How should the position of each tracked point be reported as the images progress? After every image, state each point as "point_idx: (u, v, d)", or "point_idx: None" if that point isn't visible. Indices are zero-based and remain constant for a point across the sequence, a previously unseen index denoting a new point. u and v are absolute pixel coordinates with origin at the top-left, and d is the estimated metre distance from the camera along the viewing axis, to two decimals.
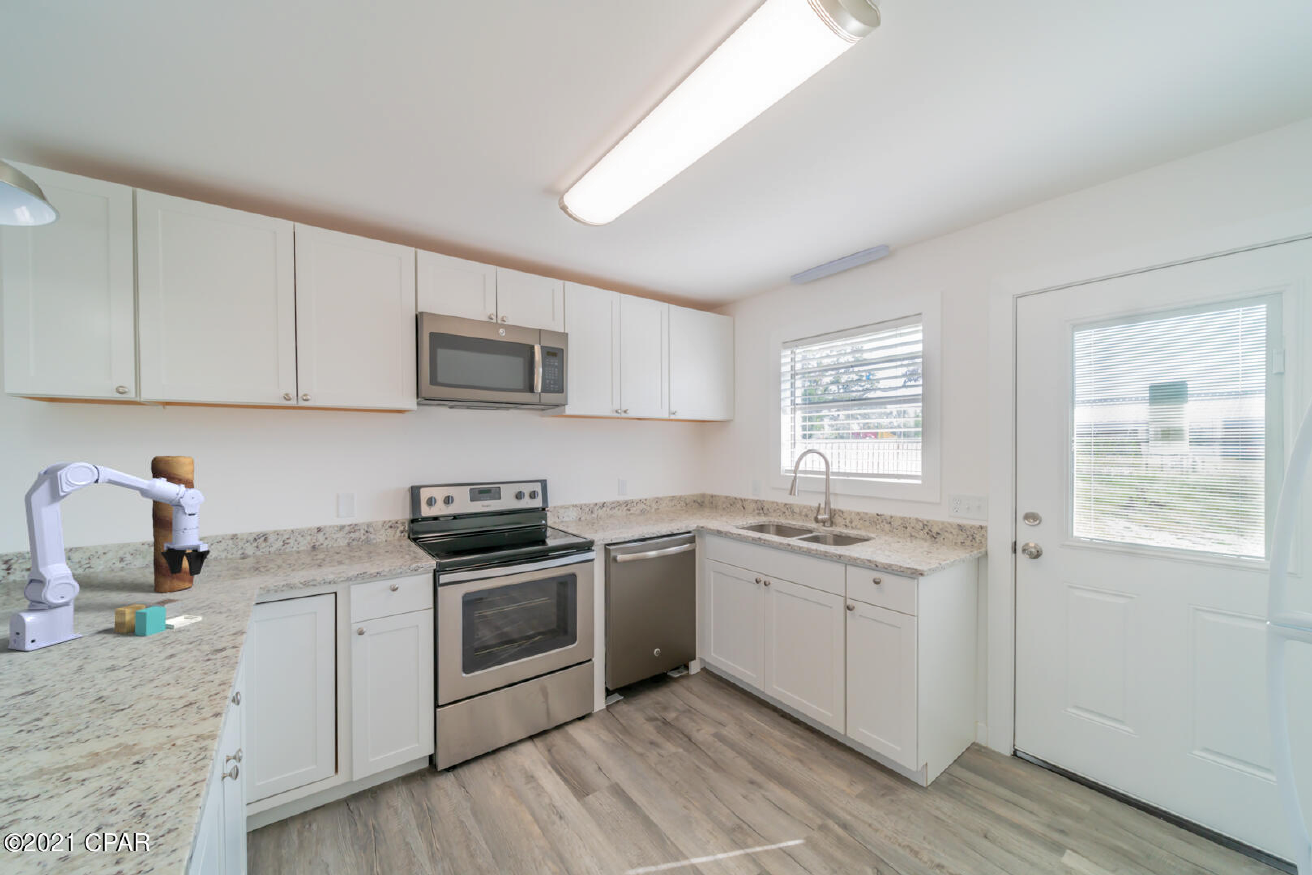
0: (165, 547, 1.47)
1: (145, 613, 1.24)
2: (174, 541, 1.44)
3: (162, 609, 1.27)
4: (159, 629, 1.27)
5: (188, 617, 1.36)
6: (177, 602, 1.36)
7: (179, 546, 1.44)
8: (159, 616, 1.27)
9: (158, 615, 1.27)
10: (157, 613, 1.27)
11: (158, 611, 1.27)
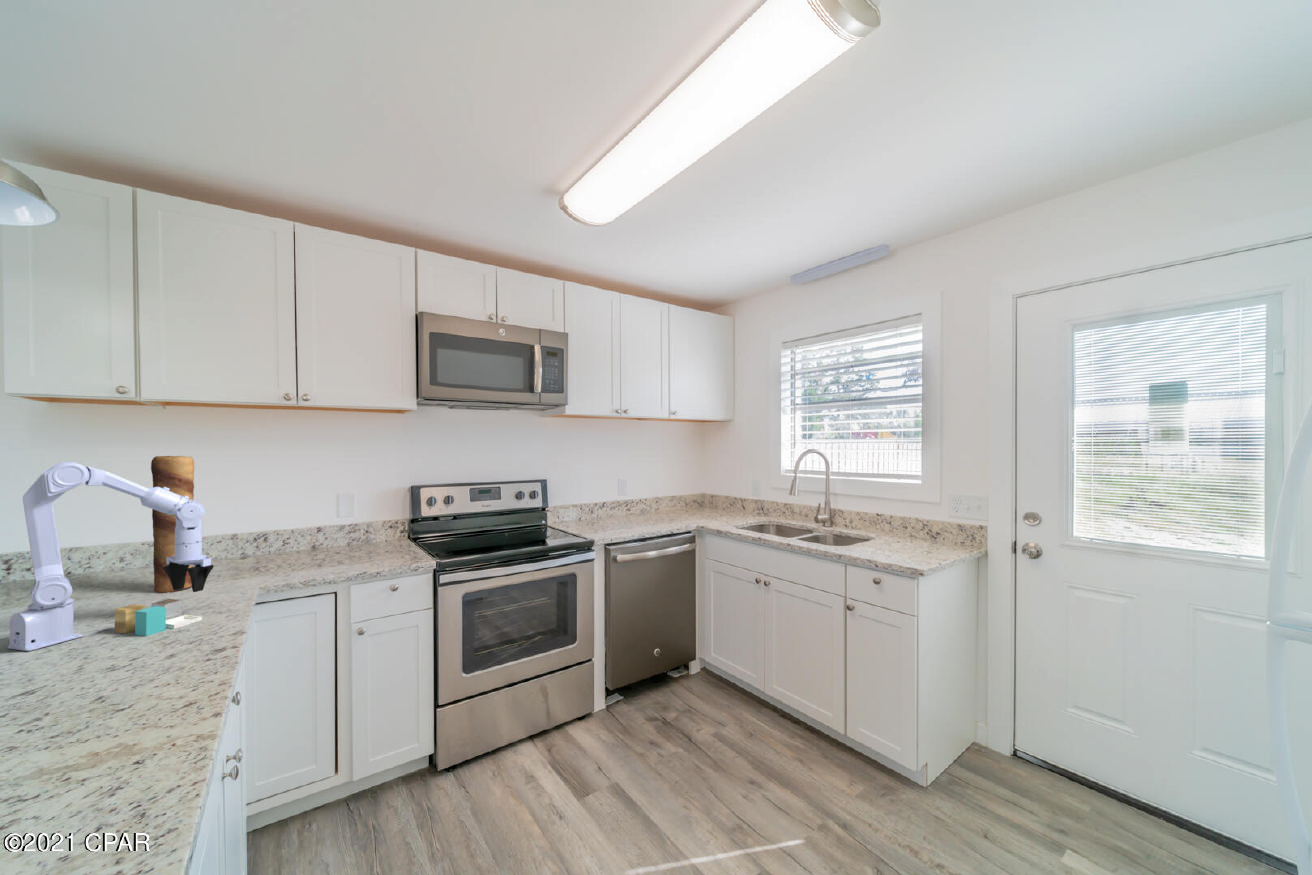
0: (167, 562, 1.42)
1: (145, 613, 1.24)
2: (176, 556, 1.38)
3: (162, 609, 1.27)
4: (159, 629, 1.27)
5: (188, 617, 1.36)
6: (177, 602, 1.36)
7: (181, 561, 1.38)
8: (159, 616, 1.27)
9: (158, 615, 1.27)
10: (157, 613, 1.27)
11: (158, 611, 1.27)
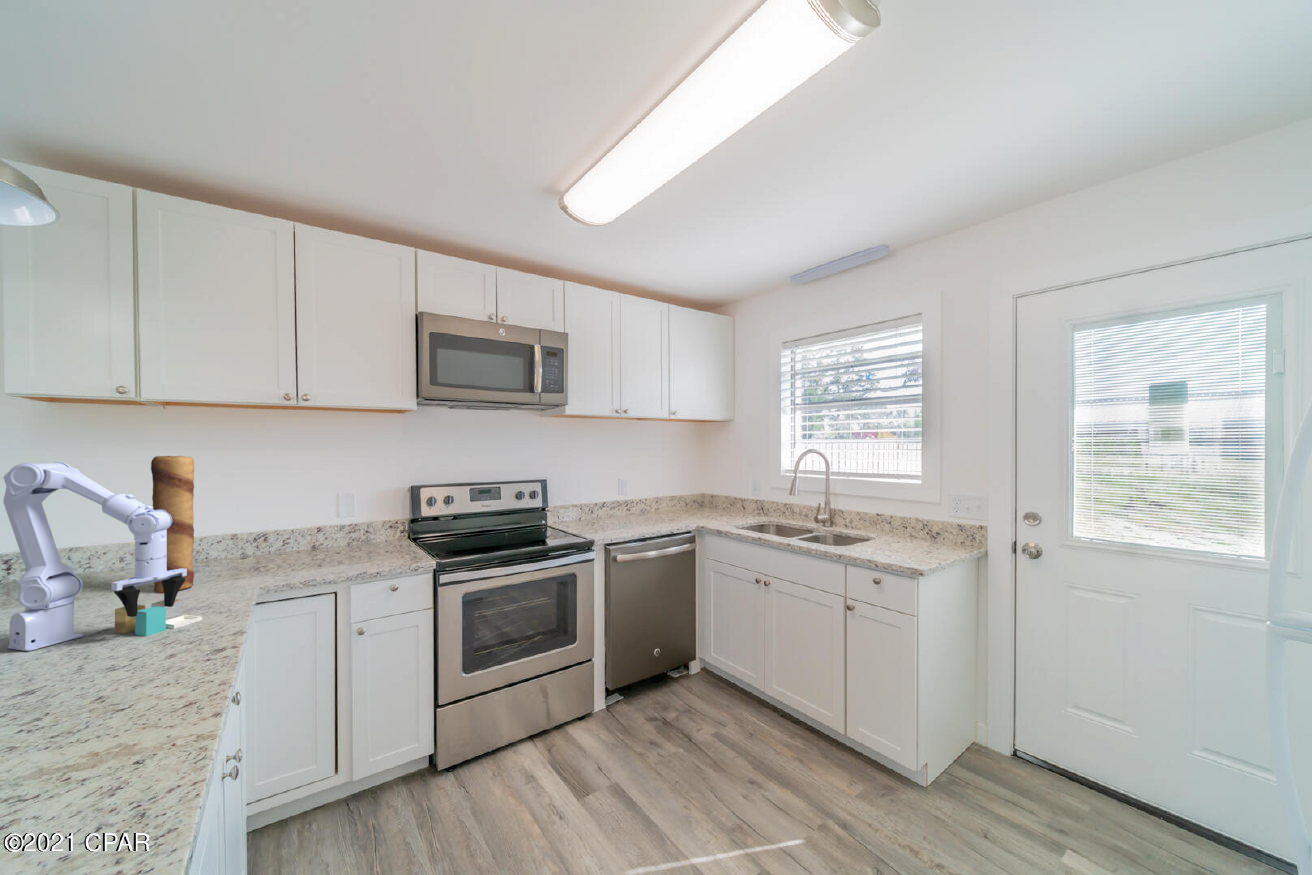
0: None
1: (145, 613, 1.24)
2: None
3: (162, 609, 1.27)
4: (159, 629, 1.27)
5: (188, 617, 1.36)
6: (177, 602, 1.36)
7: None
8: (159, 616, 1.27)
9: (158, 615, 1.27)
10: (157, 613, 1.27)
11: (158, 611, 1.27)
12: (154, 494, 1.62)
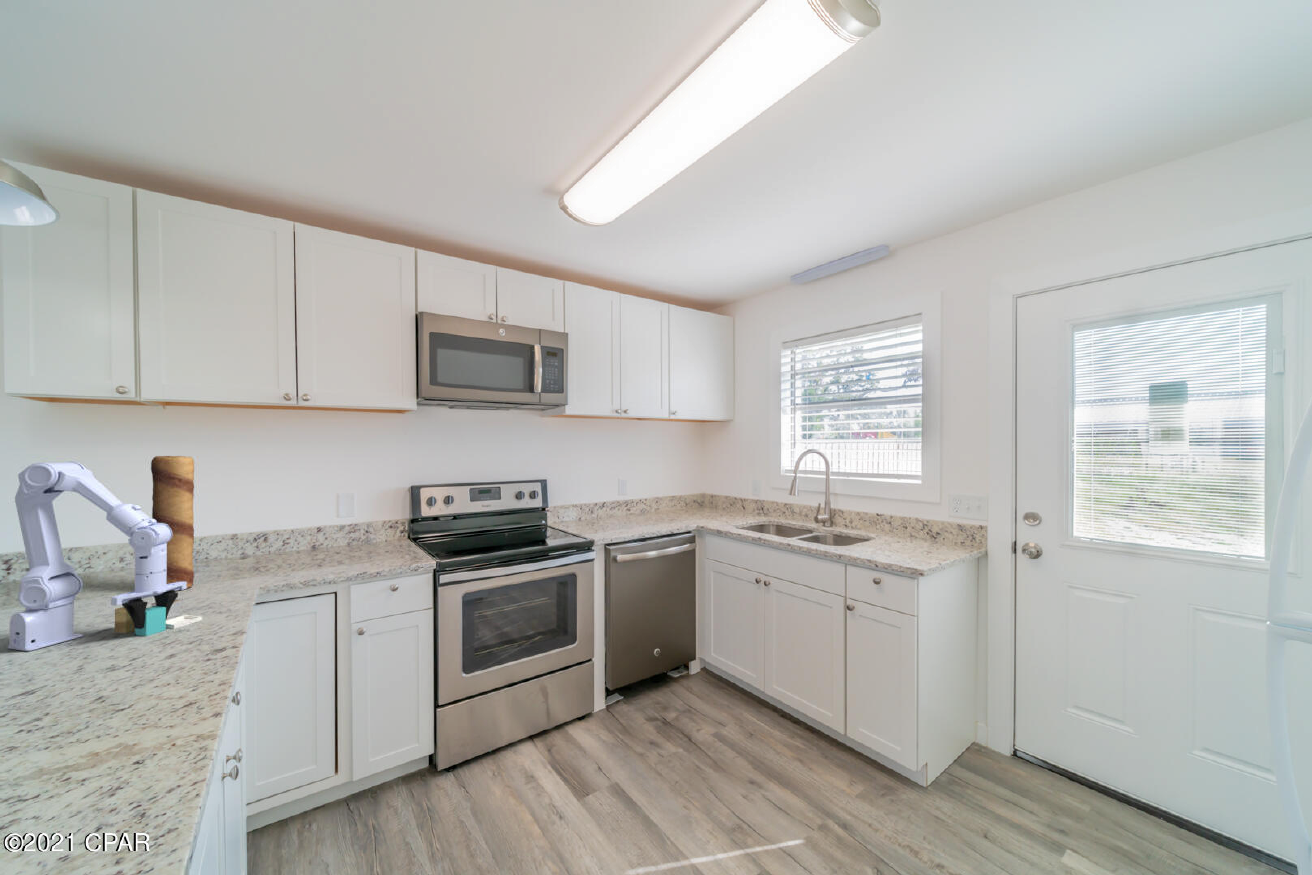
0: None
1: (145, 613, 1.24)
2: None
3: (162, 609, 1.27)
4: (159, 629, 1.27)
5: (188, 617, 1.36)
6: (177, 602, 1.36)
7: None
8: (159, 615, 1.27)
9: (158, 615, 1.27)
10: (157, 613, 1.27)
11: (158, 611, 1.27)
12: (154, 494, 1.62)
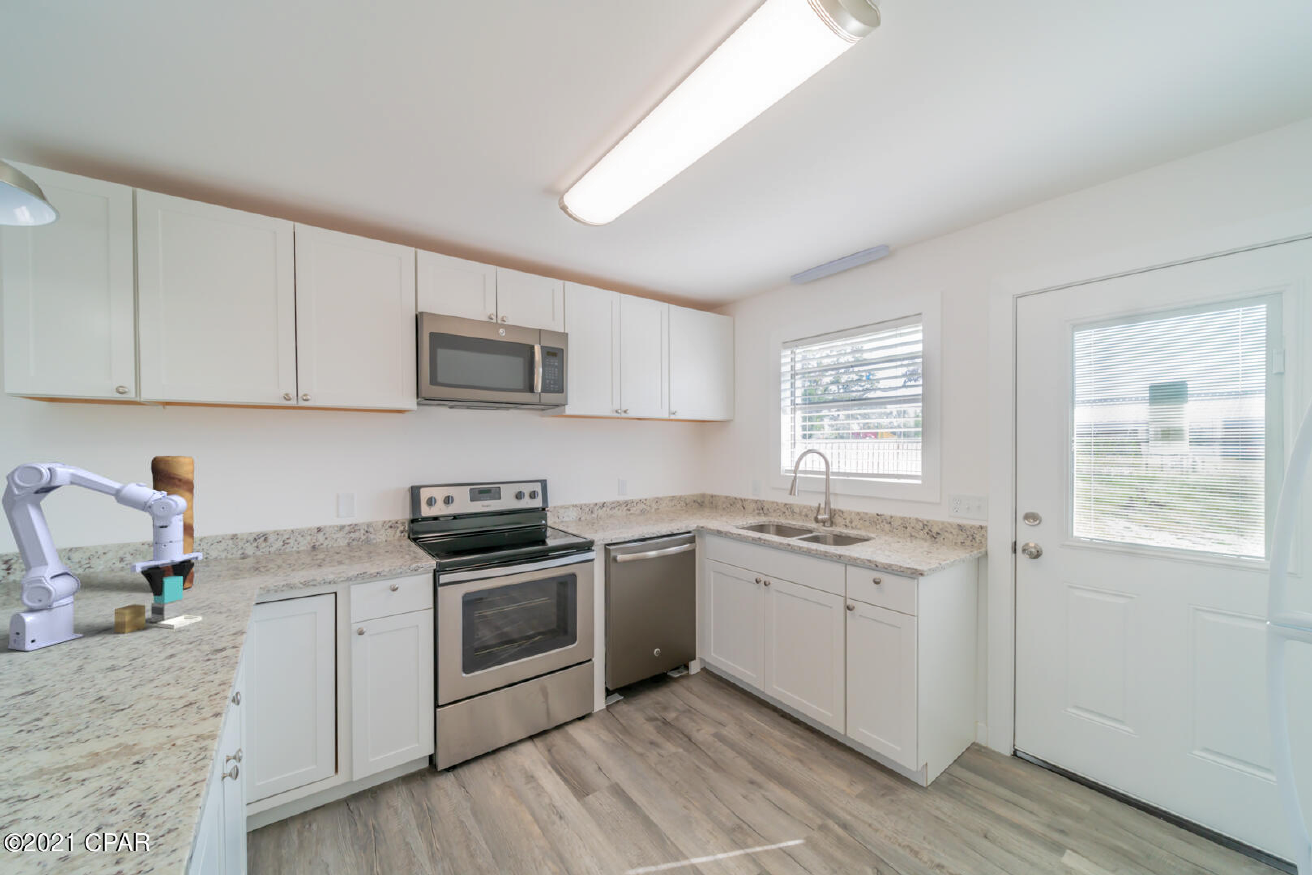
0: None
1: (163, 581, 1.28)
2: None
3: (179, 578, 1.31)
4: (176, 597, 1.31)
5: (188, 617, 1.36)
6: (177, 602, 1.36)
7: None
8: (176, 584, 1.31)
9: (176, 584, 1.30)
10: (175, 582, 1.30)
11: (175, 579, 1.30)
12: None
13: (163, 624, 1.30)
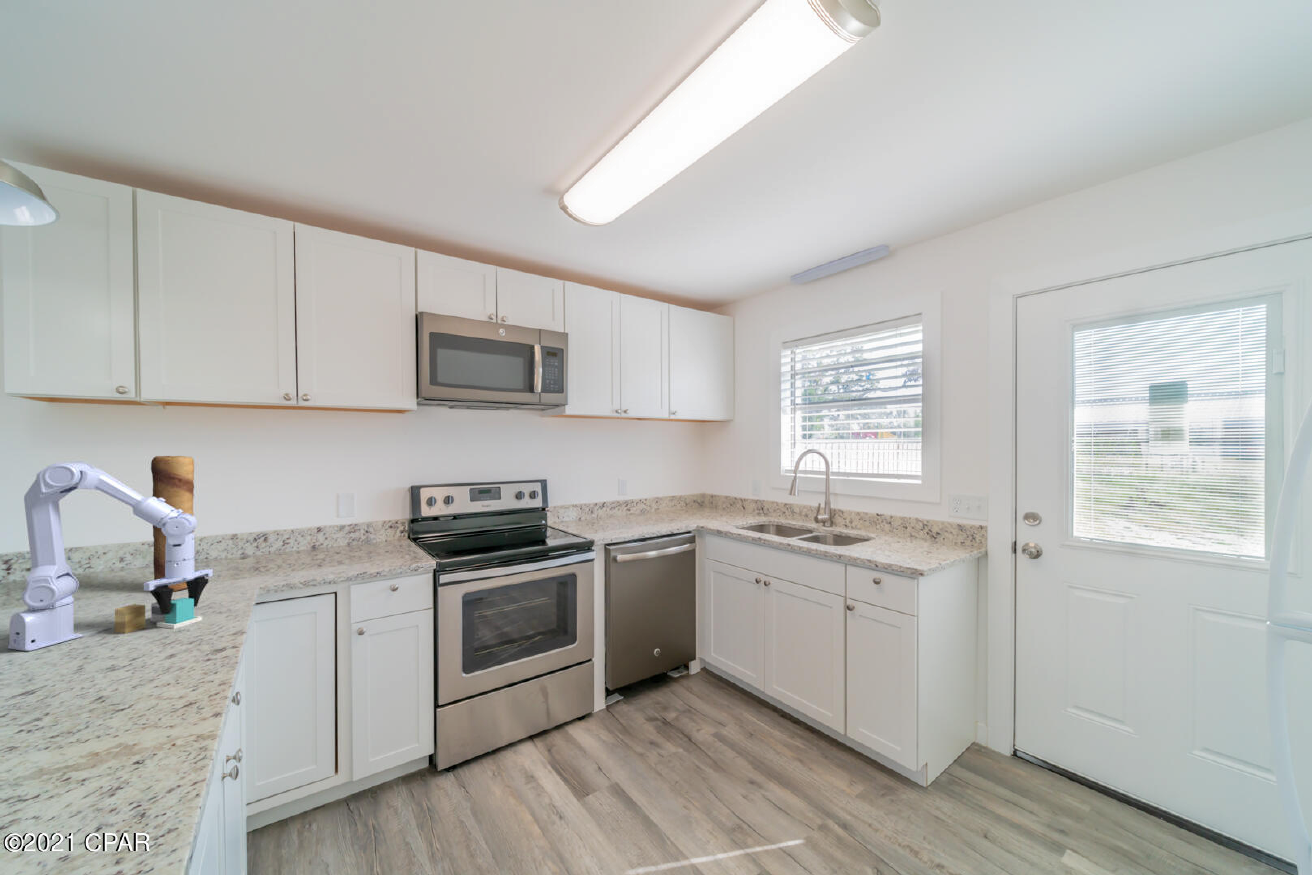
0: None
1: (175, 604, 1.31)
2: None
3: (191, 600, 1.34)
4: (188, 619, 1.33)
5: None
6: None
7: None
8: (188, 606, 1.33)
9: (187, 606, 1.33)
10: (186, 604, 1.33)
11: (187, 602, 1.33)
12: (154, 494, 1.62)
13: (163, 624, 1.30)
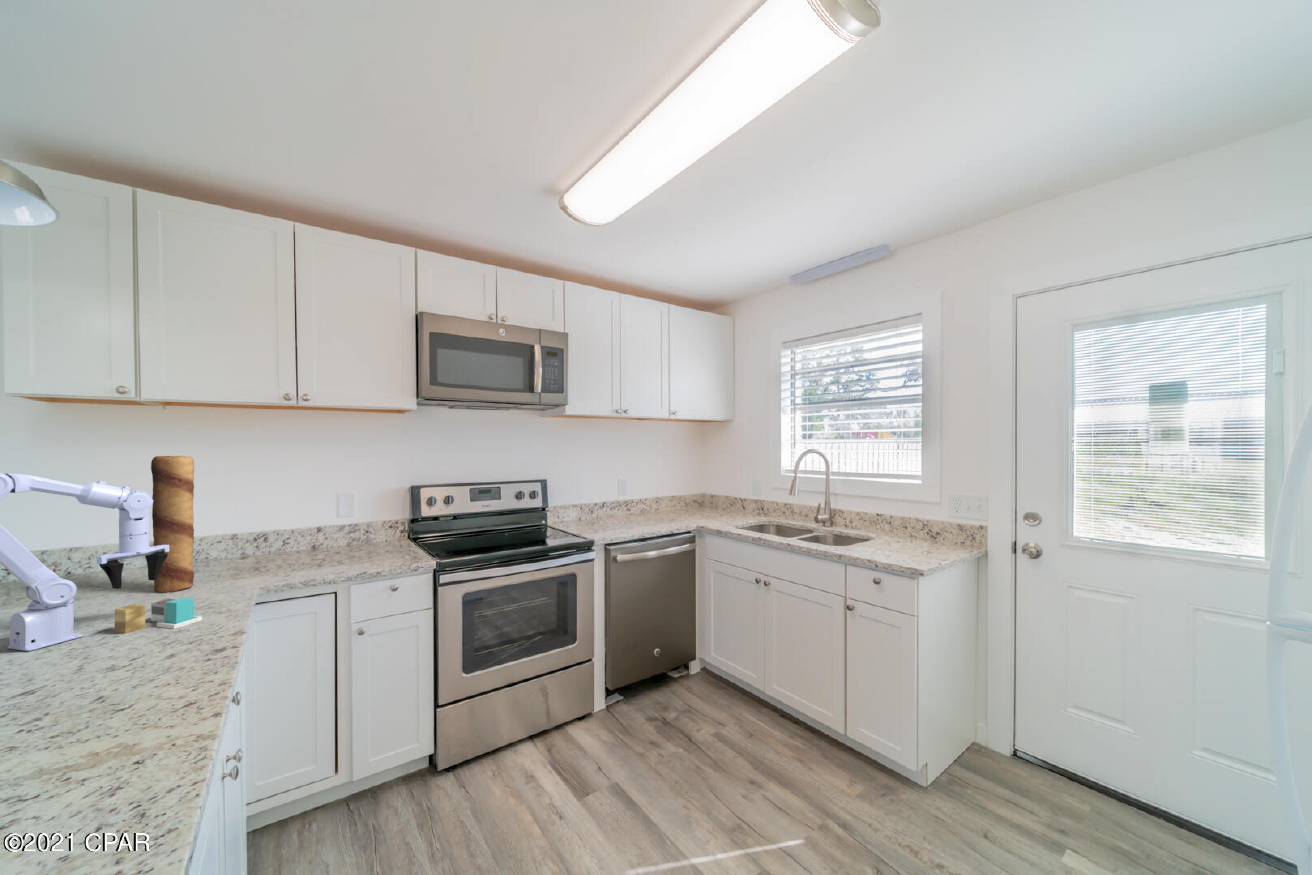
0: None
1: (175, 604, 1.31)
2: None
3: (191, 600, 1.34)
4: (188, 619, 1.33)
5: None
6: None
7: None
8: (188, 606, 1.33)
9: (187, 606, 1.33)
10: (186, 604, 1.33)
11: (187, 602, 1.33)
12: (154, 494, 1.62)
13: (163, 624, 1.30)
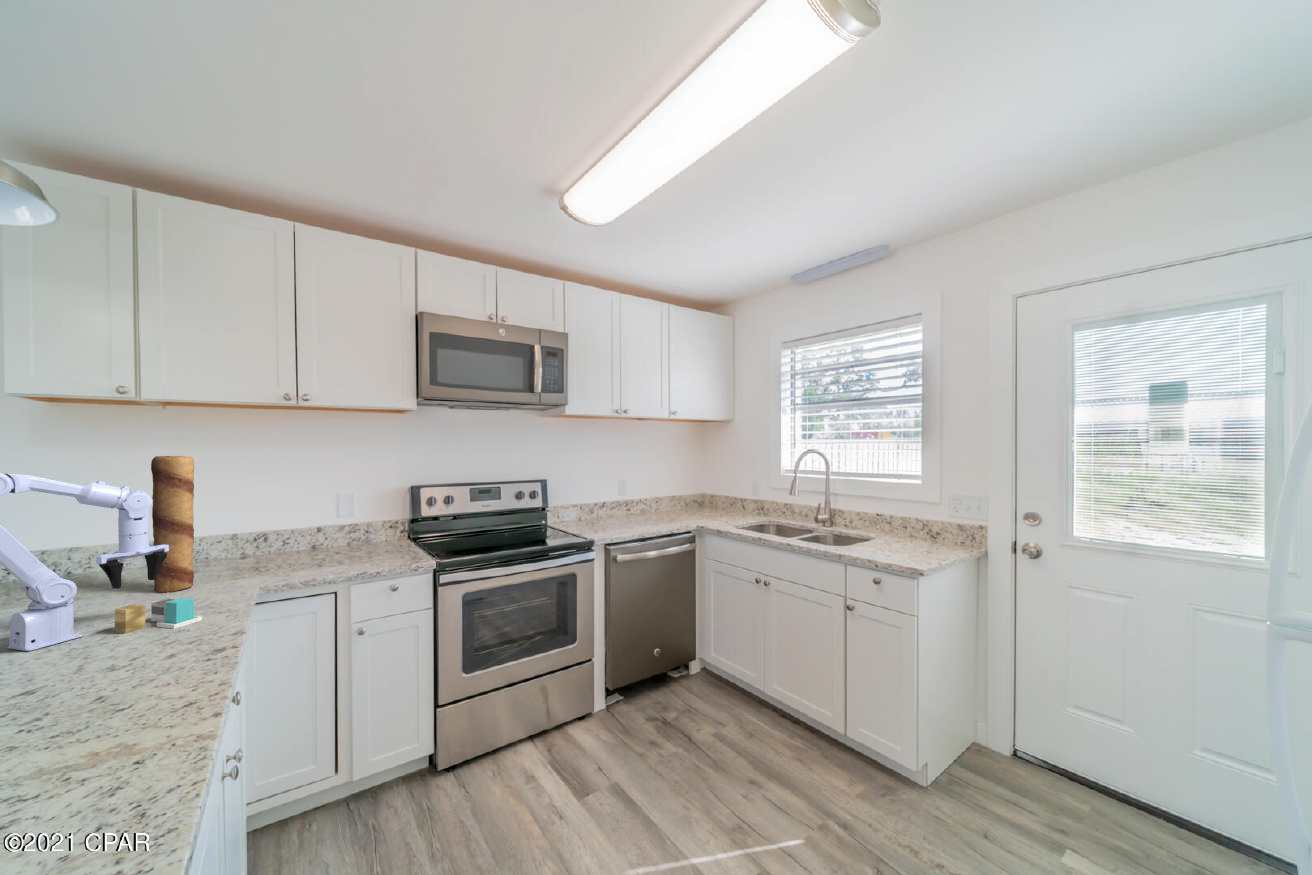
0: None
1: (175, 604, 1.31)
2: None
3: (191, 600, 1.34)
4: (188, 619, 1.33)
5: None
6: None
7: None
8: (188, 606, 1.33)
9: (187, 606, 1.33)
10: (186, 604, 1.33)
11: (187, 602, 1.33)
12: (154, 494, 1.62)
13: (163, 624, 1.30)
